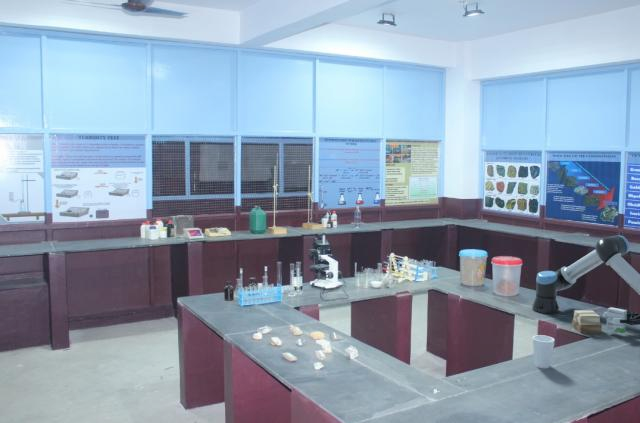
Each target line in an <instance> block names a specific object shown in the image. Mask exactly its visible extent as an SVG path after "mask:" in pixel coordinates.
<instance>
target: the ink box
mask: <svg viewBox="0 0 640 423" xmlns="http://www.w3.org/2000/svg"><path fill="white" fill-rule="evenodd" d="M606 310H607V311H606V312H607V318H606V324H605V325H606V329H605V330H607V331H610V332H616V333H619V334H624V333H626V331H627V324H613V318H626V320H627V312H628V310H627V309H623V308H617V307H608V308H607V309H606Z"/></svg>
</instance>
